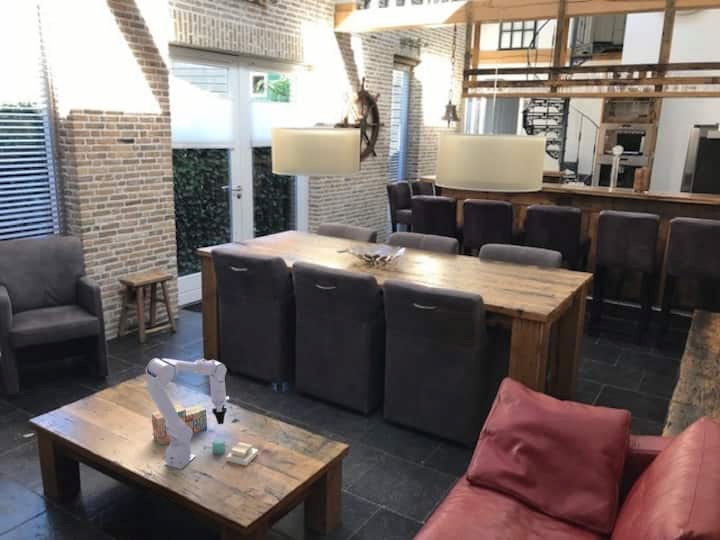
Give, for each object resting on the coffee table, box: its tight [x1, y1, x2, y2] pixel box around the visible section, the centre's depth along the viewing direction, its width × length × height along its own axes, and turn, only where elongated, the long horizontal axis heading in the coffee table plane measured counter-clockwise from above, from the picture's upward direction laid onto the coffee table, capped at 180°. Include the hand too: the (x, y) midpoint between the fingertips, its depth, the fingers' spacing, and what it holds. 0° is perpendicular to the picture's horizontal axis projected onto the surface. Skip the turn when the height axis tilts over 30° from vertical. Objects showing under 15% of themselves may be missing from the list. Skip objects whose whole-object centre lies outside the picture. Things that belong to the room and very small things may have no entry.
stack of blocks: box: [151, 403, 208, 446], centre depth 253 cm, size 21×6×12 cm, turn 130°
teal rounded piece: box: [212, 438, 226, 456], centre depth 242 cm, size 5×5×4 cm
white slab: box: [225, 447, 259, 466], centre depth 238 cm, size 9×9×2 cm
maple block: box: [230, 441, 253, 458], centre depth 237 cm, size 6×6×2 cm
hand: (220, 418), depth 247 cm, fingers open, 7 cm apart
